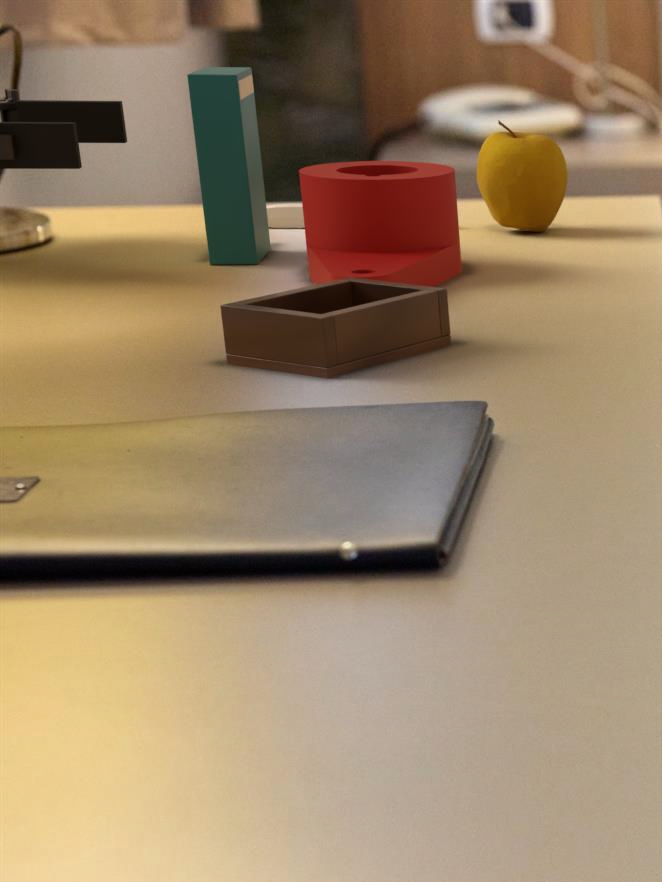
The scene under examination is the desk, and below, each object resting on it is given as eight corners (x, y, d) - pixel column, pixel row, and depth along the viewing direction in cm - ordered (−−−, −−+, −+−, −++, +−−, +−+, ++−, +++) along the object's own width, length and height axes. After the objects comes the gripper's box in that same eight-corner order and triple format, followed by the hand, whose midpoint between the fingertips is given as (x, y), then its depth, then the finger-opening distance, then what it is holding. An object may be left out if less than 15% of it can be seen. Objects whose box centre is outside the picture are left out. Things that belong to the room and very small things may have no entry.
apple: (462, 230, 144) (454, 118, 141) (535, 222, 148) (529, 114, 145) (513, 241, 140) (506, 126, 137) (586, 233, 144) (581, 121, 141)
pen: (445, 229, 144) (443, 206, 143) (247, 228, 142) (245, 205, 142) (448, 226, 145) (446, 203, 145) (252, 224, 144) (250, 201, 143)
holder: (328, 383, 98) (322, 318, 96) (227, 369, 100) (219, 304, 99) (452, 349, 106) (447, 288, 105) (355, 336, 108) (350, 276, 107)
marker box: (258, 264, 128) (237, 74, 124) (208, 264, 128) (186, 74, 123) (271, 249, 134) (252, 67, 129) (224, 249, 133) (202, 66, 129)
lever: (320, 263, 129) (310, 160, 127) (467, 262, 131) (459, 161, 128) (277, 316, 113) (264, 199, 110) (445, 314, 114) (436, 199, 112)
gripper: (-361, 87, 110) (45, 91, 114) (-201, 54, 132) (133, 58, 136) (-331, 222, 112) (64, 221, 116) (-179, 167, 135) (147, 167, 139)
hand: (102, 133), depth 126 cm, fingers open, 13 cm apart
